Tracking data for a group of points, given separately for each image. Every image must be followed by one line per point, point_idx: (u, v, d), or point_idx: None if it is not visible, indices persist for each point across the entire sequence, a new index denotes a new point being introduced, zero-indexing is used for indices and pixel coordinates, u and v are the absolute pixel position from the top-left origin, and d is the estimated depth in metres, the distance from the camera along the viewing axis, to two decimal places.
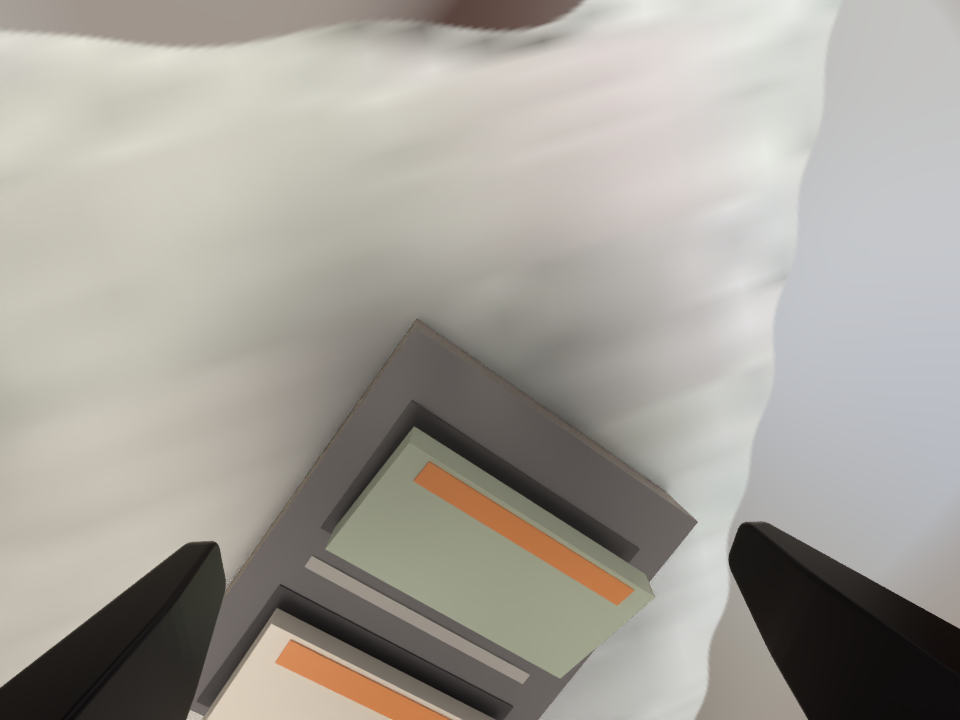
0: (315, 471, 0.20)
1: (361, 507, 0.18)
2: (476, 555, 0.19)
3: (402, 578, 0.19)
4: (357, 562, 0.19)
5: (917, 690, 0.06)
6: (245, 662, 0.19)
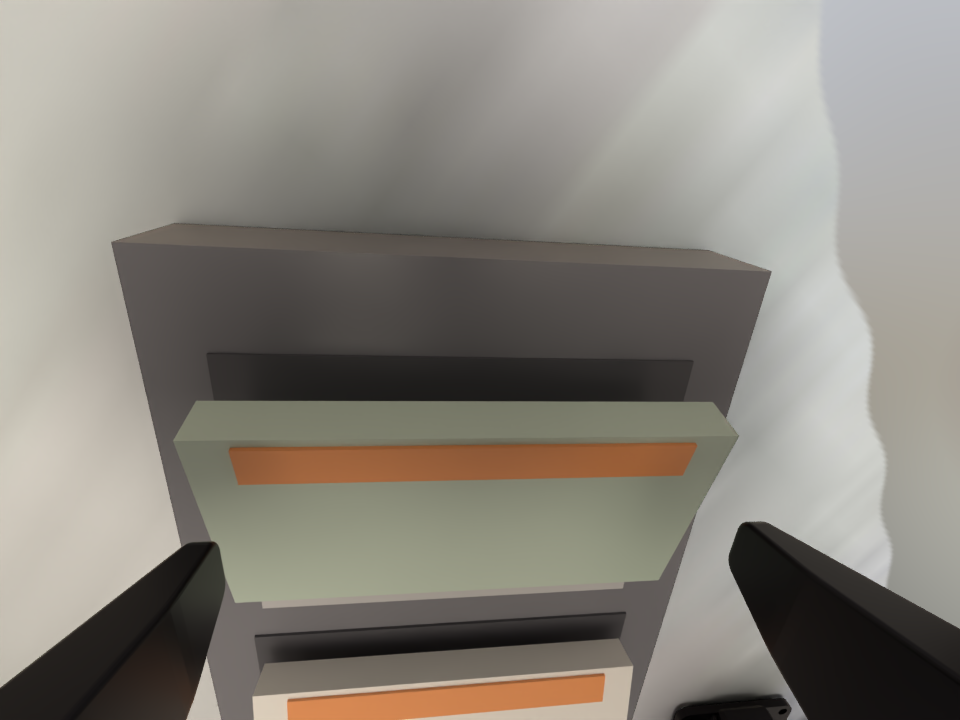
0: (175, 509, 0.13)
1: None
2: (425, 518, 0.11)
3: (358, 584, 0.13)
4: (287, 596, 0.13)
5: (917, 690, 0.06)
6: None
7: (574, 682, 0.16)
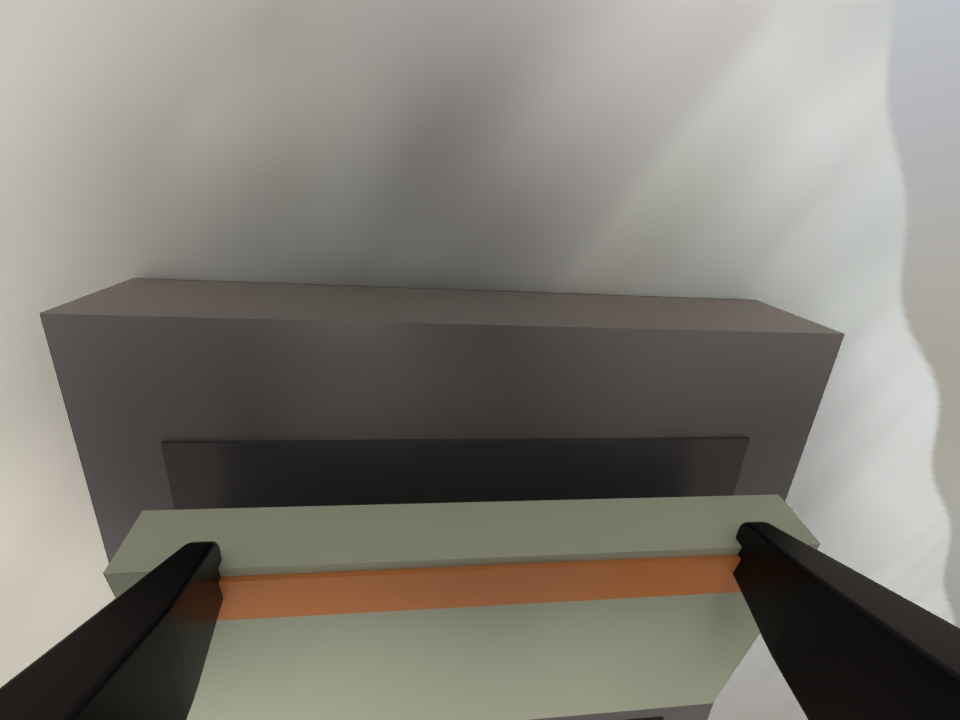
0: None
1: None
2: (429, 648, 0.09)
3: None
4: None
5: (917, 690, 0.06)
6: None
7: None
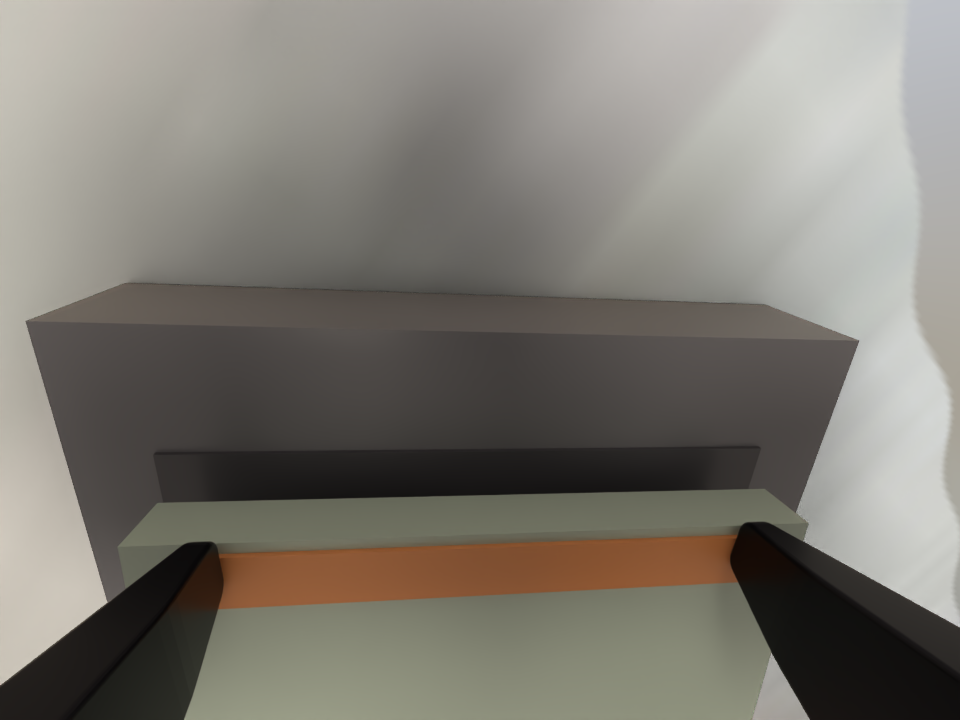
0: None
1: None
2: (430, 658, 0.09)
3: None
4: None
5: (919, 690, 0.06)
6: None
7: None
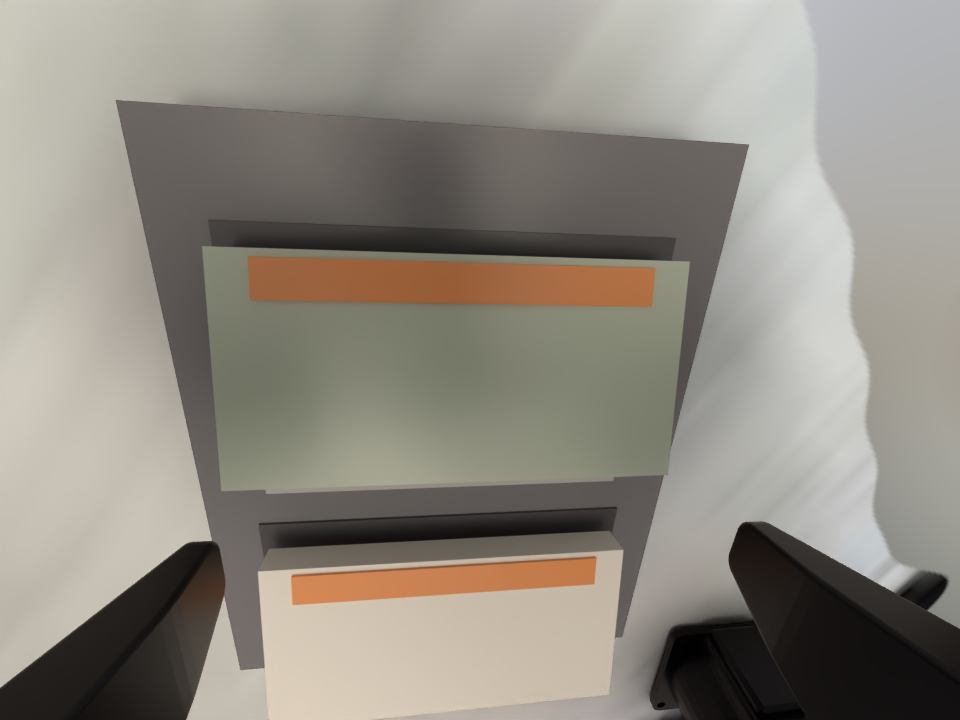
0: (180, 386, 0.14)
1: (216, 391, 0.12)
2: (419, 360, 0.12)
3: (352, 465, 0.12)
4: (277, 481, 0.12)
5: (917, 690, 0.06)
6: (262, 619, 0.15)
7: (566, 564, 0.16)
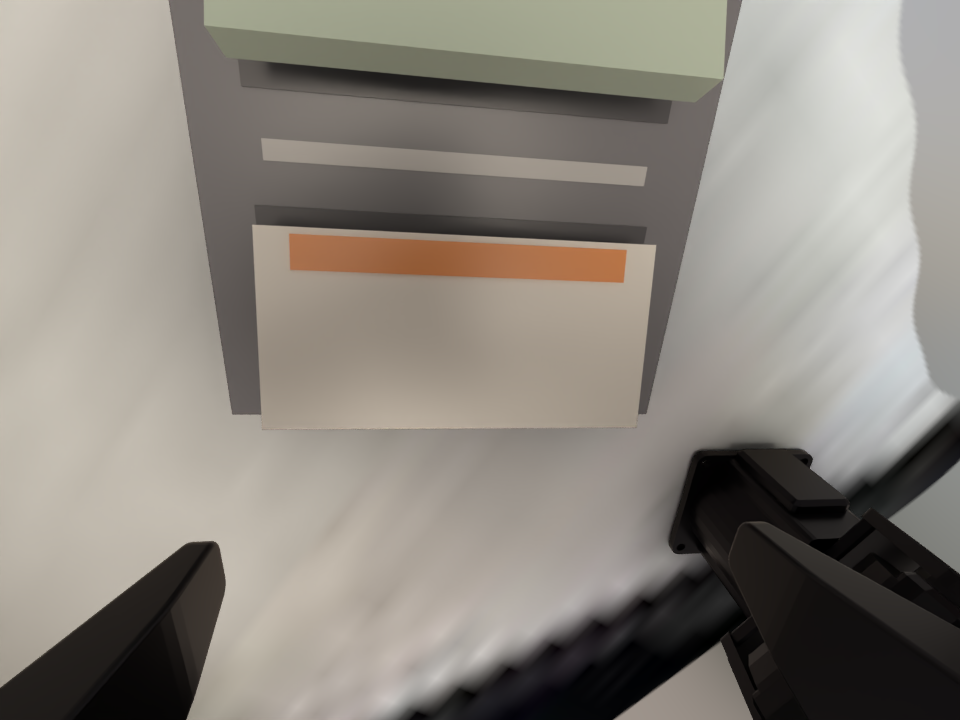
0: None
1: None
2: None
3: (360, 13, 0.11)
4: (271, 21, 0.10)
5: (917, 690, 0.06)
6: (256, 288, 0.14)
7: (594, 254, 0.15)
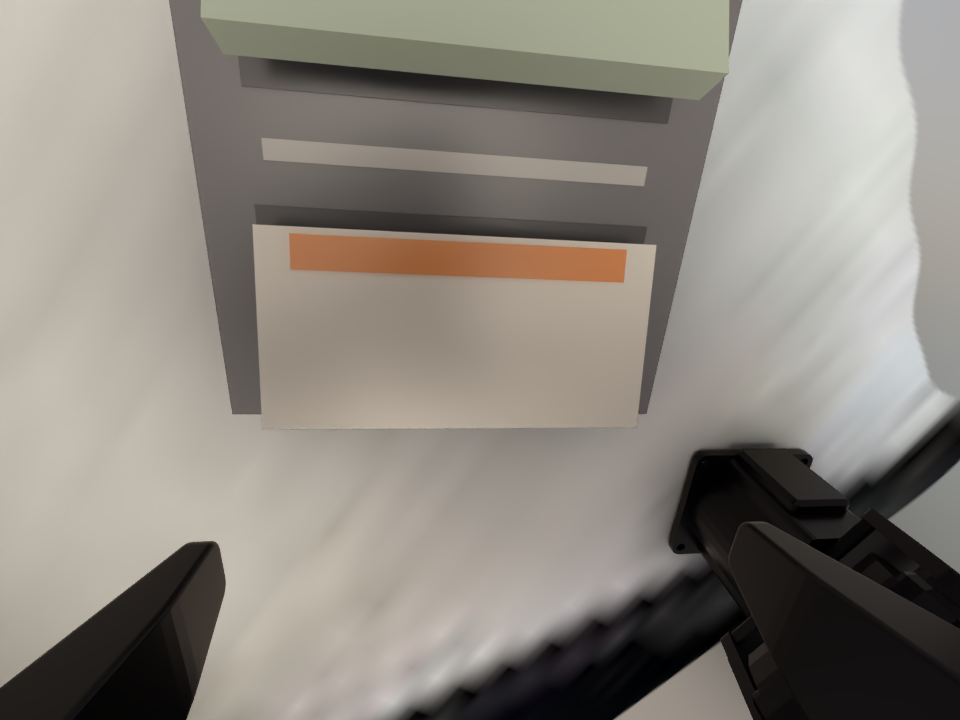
0: None
1: None
2: None
3: (359, 7, 0.10)
4: (269, 14, 0.10)
5: (917, 690, 0.06)
6: (256, 288, 0.14)
7: (594, 254, 0.15)
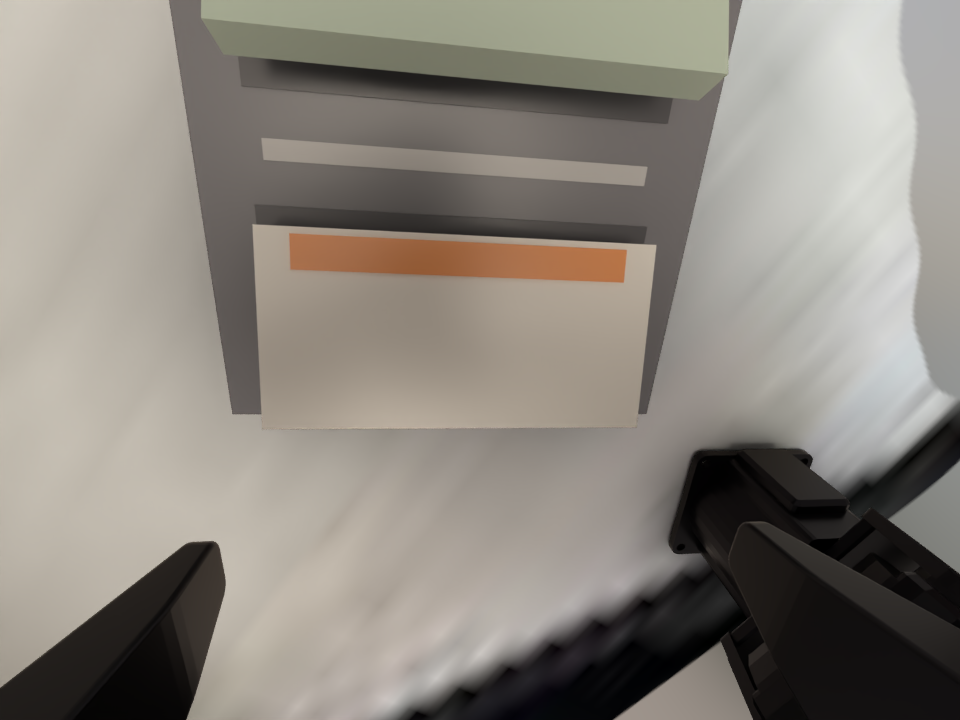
0: None
1: None
2: None
3: (359, 7, 0.10)
4: (269, 15, 0.10)
5: (917, 690, 0.06)
6: (256, 288, 0.14)
7: (594, 254, 0.15)
